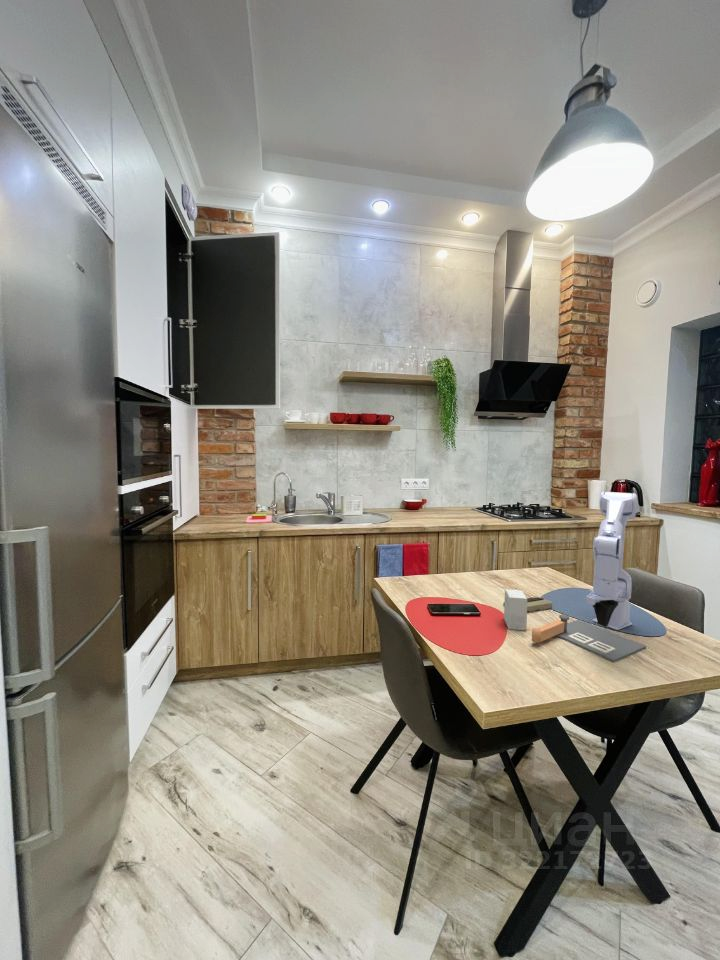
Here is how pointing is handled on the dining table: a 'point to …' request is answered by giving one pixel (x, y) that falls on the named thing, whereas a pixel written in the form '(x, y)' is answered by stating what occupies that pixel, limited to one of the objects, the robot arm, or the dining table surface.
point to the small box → (515, 609)
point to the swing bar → (547, 631)
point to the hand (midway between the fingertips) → (602, 624)
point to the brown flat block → (537, 604)
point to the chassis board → (598, 640)
